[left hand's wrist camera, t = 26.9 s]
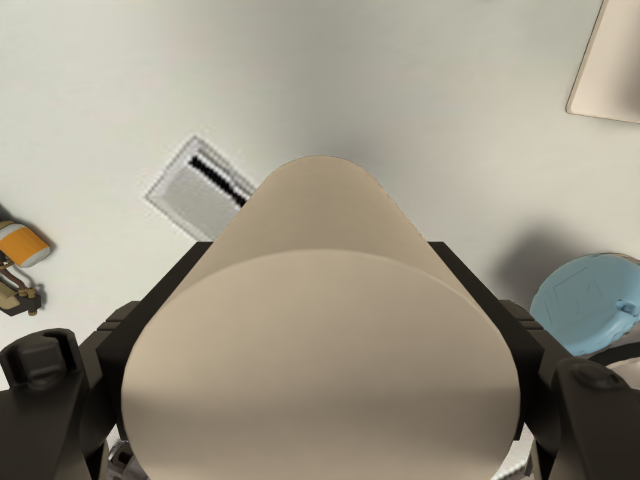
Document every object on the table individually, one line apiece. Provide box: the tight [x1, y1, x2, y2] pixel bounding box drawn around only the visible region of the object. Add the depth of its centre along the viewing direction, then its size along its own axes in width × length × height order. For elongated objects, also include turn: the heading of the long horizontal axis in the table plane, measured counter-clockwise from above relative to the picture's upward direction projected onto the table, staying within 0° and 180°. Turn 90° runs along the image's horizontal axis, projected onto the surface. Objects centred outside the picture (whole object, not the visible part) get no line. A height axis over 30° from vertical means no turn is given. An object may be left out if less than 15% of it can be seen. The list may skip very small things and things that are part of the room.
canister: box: [121, 156, 520, 480], centre depth 13 cm, size 8×8×13 cm
